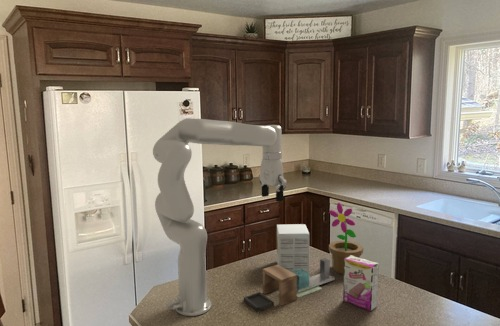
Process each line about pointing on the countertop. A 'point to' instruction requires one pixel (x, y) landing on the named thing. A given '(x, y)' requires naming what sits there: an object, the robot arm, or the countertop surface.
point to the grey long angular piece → (310, 282)
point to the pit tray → (258, 301)
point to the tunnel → (280, 283)
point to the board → (308, 291)
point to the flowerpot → (343, 248)
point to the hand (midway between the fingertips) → (272, 198)
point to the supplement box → (293, 247)
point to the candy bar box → (360, 282)
